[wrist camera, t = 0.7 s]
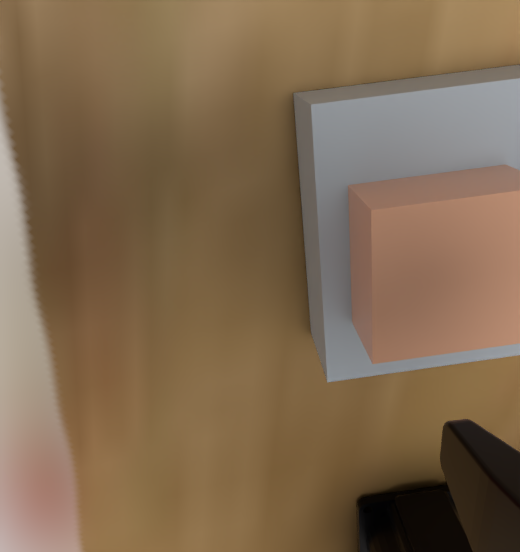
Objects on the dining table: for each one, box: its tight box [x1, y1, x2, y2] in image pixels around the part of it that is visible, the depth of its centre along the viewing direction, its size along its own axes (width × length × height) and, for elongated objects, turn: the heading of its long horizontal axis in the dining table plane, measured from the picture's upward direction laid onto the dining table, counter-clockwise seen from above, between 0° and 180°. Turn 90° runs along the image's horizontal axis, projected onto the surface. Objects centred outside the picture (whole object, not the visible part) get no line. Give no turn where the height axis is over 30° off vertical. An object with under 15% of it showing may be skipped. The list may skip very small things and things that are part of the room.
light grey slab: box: [293, 65, 520, 382], centre depth 18 cm, size 10×12×4 cm
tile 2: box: [348, 164, 520, 364], centre depth 15 cm, size 5×5×2 cm
